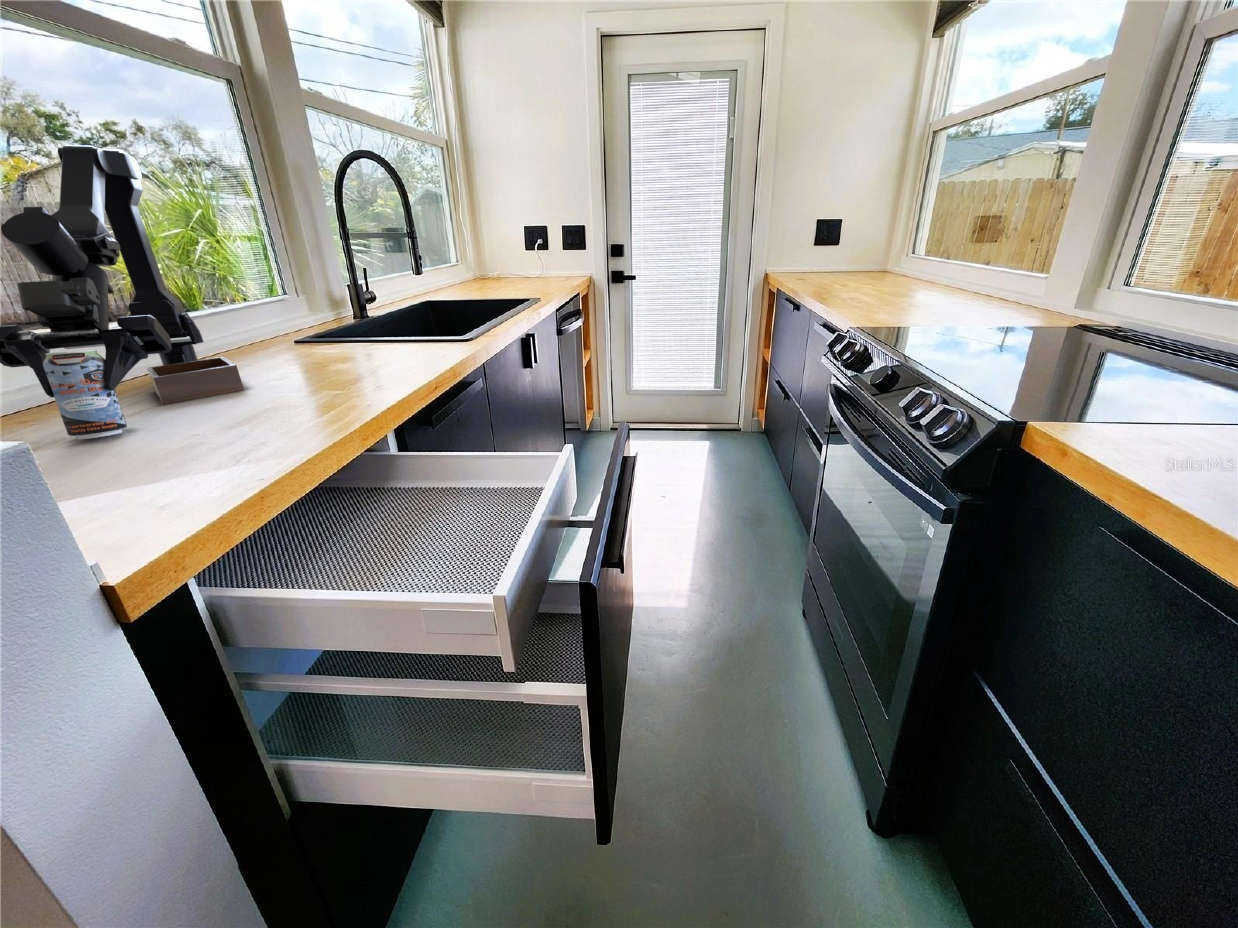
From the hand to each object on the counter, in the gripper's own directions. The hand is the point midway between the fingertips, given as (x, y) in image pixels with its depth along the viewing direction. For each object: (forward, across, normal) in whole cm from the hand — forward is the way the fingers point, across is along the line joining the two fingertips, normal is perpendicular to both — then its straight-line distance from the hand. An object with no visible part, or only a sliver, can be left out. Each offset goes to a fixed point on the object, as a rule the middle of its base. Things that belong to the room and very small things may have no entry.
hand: (80, 392), depth 71 cm
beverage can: (+4, 0, +6) cm, 7 cm away
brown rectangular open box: (-12, +6, +22) cm, 26 cm away
